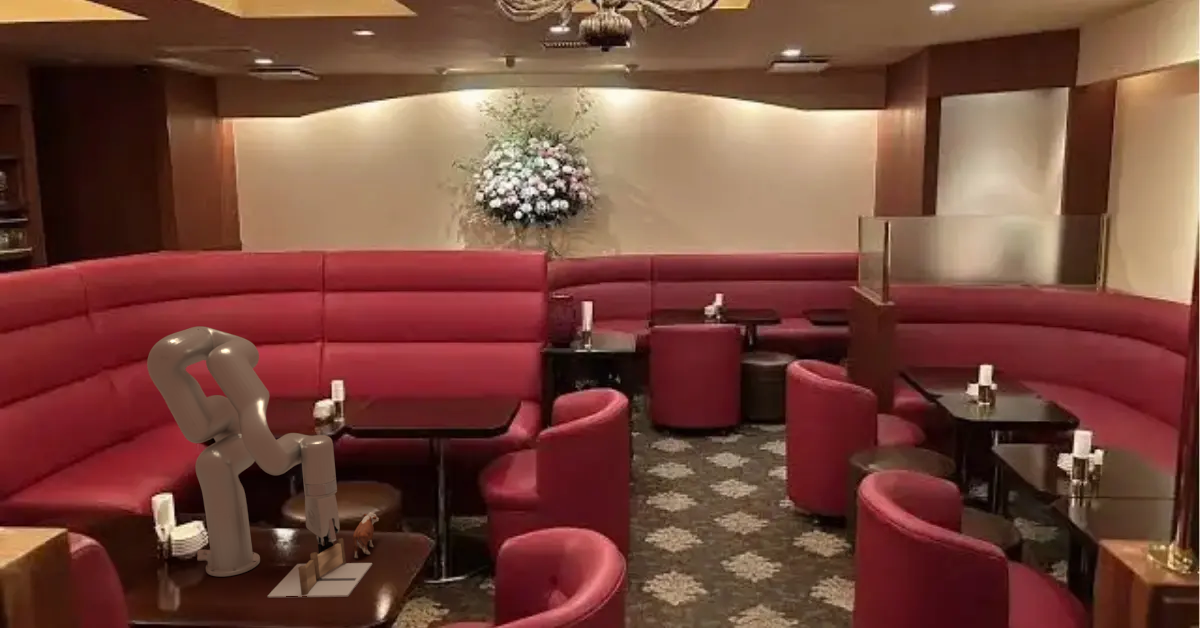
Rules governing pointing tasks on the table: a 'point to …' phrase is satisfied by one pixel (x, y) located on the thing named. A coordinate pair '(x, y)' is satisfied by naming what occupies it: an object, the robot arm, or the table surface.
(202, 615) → the table surface
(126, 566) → the table surface
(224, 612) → the table surface
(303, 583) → the fixed fence section
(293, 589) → the card
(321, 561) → the fence panel
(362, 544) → the bull figurine
